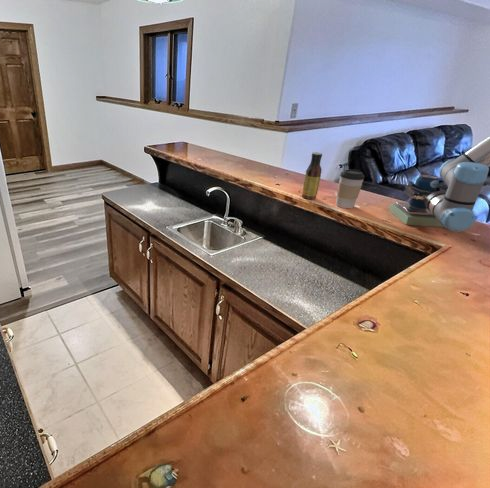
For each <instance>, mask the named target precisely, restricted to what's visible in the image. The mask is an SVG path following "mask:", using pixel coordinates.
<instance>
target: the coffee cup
mask: <svg viewBox="0 0 490 488" xmlns="http://www.w3.org/2000/svg"><path fill="white" fill-rule="evenodd" d="M364 180H365V174H364V173H363V171H362V170H360V169H357V168H353V169H344V170H343V171H342V172H340V175H339V181H338V187H337V191H336V201H335V206H336V205H337V207H338V206H339V207H338V208H341V207H342V209H346V208H351V209H353V208H354V207H355V204H356V201H357V199H358V197H359V194H360V192H361V189H362V186H363V182H364Z"/></svg>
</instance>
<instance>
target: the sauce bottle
mask: <svg viewBox="0 0 490 488" xmlns="http://www.w3.org/2000/svg"><path fill="white" fill-rule="evenodd" d="M322 157H323V153H322V152H318V151H317V152H315V151H314V152H312V153H311V160H310V163H309V165H308V167H307V169H306V170H305V175H304V179H303V180H304V181H303V186H302V191H301V197H302V198H303V197H304V198H303V199H306V198H308V199H307V200H315V199H316V198H317V196H318V191H319V186H320V181H321V176H322V170H323V169H322V166H321V161H322Z"/></svg>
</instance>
